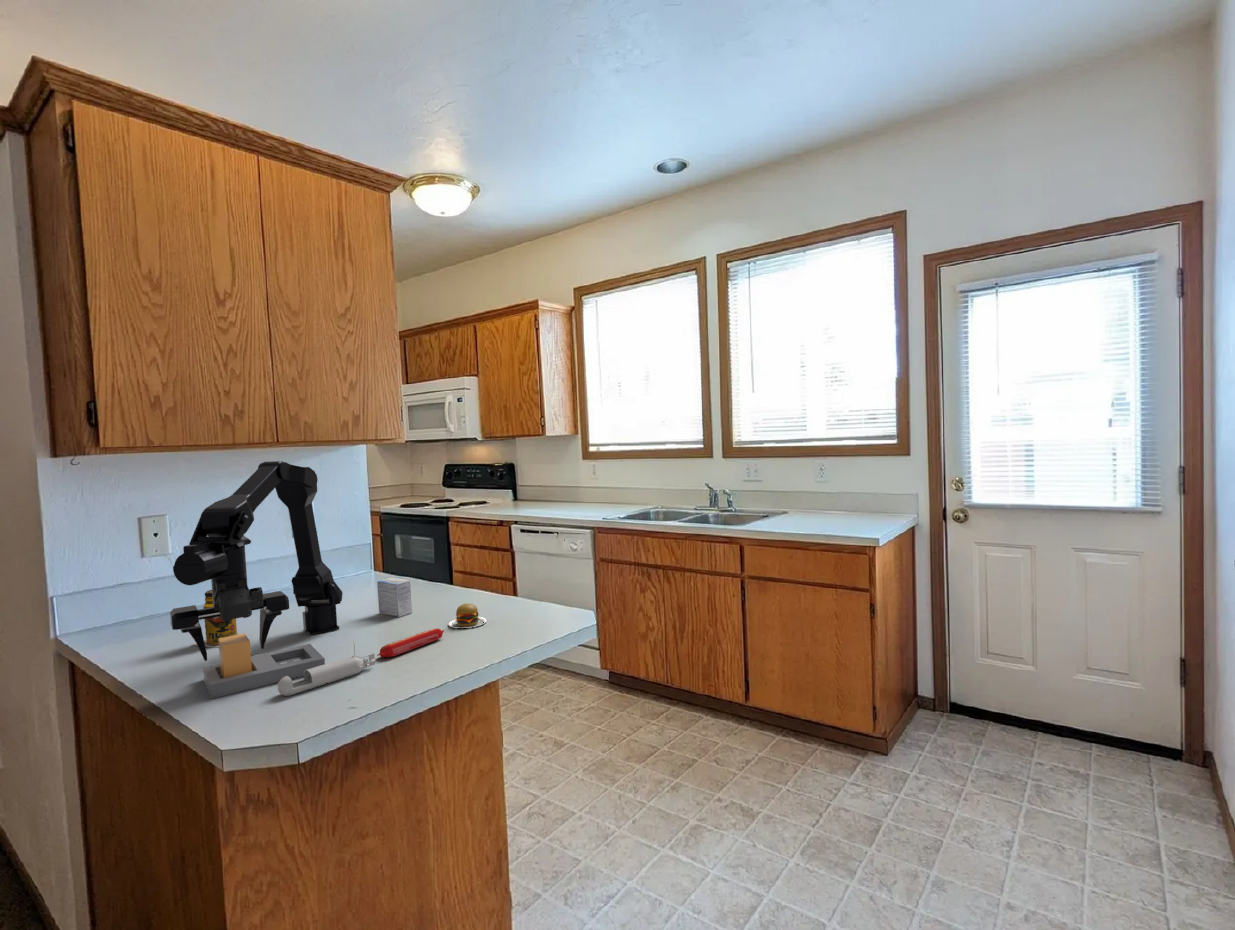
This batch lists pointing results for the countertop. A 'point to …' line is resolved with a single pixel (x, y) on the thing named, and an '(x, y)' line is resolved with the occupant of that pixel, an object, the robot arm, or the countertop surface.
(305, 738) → the countertop surface
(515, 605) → the countertop surface
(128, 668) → the countertop surface
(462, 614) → the hamburger
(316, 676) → the torpedo
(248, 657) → the plug
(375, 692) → the countertop surface
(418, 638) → the red sausage
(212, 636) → the condiment
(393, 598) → the medicine box
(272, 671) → the socket plate
